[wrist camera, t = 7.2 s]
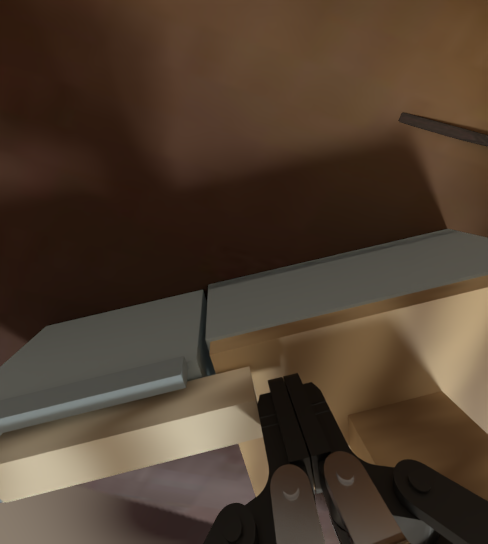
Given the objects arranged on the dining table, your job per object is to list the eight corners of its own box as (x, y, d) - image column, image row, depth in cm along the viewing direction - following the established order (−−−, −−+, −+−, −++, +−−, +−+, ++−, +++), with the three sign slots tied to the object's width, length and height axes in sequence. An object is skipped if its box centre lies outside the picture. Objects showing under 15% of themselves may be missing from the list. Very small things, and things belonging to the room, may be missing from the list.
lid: (556, 258, 13) (978, 359, 6) (504, 422, 19) (697, 585, 11) (210, 341, 13) (204, 568, 5) (256, 487, 18) (285, 705, 11)
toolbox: (447, 227, 20) (624, 266, 11) (431, 359, 25) (542, 453, 17) (43, 321, 19) (-99, 442, 10) (116, 438, 24) (63, 581, 16)
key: (249, 366, 12) (255, 400, 10) (257, 399, 13) (264, 436, 11) (9, 425, 12) (-29, 471, 10) (34, 455, 13) (4, 503, 11)
